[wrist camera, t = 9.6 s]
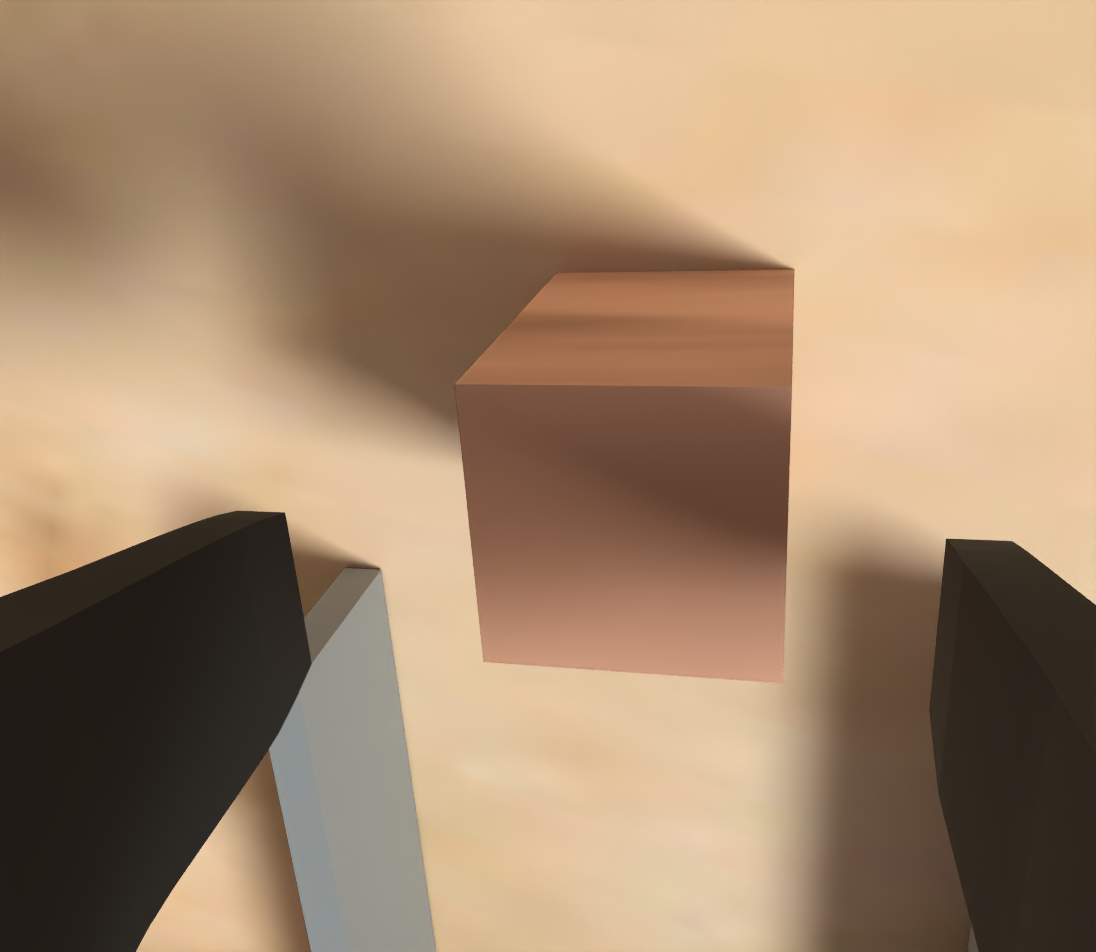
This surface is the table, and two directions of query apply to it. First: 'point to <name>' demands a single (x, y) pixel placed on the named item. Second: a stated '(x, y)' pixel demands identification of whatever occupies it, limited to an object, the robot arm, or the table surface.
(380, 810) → the open side box
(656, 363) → the block
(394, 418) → the table surface
